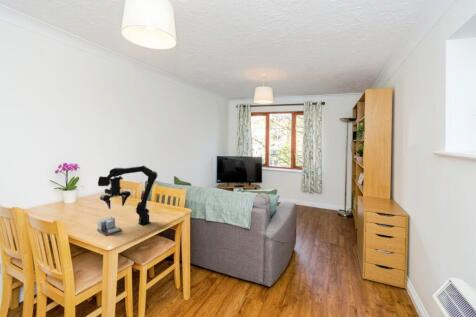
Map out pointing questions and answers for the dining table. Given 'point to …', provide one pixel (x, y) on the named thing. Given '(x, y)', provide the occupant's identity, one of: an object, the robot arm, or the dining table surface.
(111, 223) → the grey round-ended capsule
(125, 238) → the dining table surface
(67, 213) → the dining table surface
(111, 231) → the motor mount
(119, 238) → the dining table surface
